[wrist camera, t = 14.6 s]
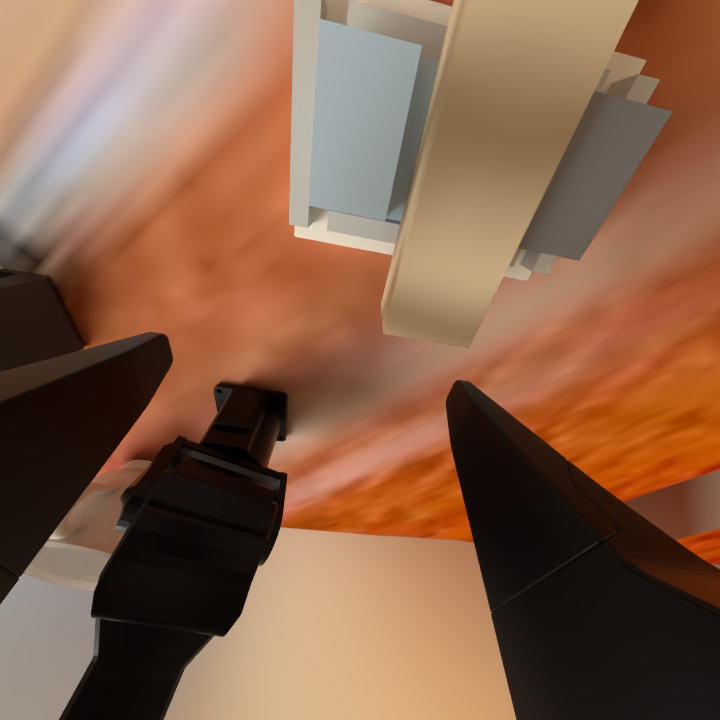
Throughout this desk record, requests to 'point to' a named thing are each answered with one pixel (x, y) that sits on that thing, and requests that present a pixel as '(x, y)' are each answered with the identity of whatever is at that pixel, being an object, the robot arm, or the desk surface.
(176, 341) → the desk surface
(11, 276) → the phone stand
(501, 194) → the tan rectangular bar
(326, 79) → the light blue block
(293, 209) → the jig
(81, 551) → the teacup
